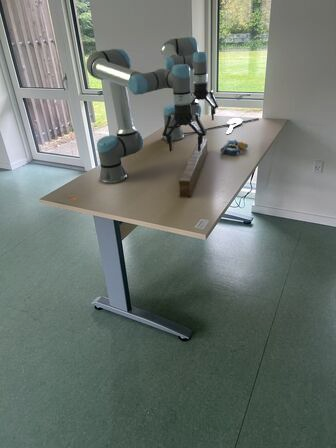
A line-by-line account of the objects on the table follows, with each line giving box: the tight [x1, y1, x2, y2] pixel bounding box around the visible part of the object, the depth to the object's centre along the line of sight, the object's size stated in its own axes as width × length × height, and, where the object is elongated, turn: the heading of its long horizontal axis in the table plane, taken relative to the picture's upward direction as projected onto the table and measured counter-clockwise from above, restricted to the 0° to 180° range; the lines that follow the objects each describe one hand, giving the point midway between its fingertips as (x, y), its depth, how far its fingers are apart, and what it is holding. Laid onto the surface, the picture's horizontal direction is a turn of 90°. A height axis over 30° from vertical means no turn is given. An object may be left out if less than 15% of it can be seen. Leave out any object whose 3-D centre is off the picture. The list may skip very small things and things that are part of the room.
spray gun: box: [220, 139, 249, 156], centre depth 214 cm, size 21×4×15 cm
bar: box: [178, 138, 208, 198], centre depth 189 cm, size 64×5×9 cm, turn 167°
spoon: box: [226, 117, 243, 135], centre depth 260 cm, size 35×11×2 cm, turn 159°
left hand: (185, 150), depth 157 cm, fingers open, 13 cm apart
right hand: (201, 120), depth 202 cm, fingers open, 13 cm apart
